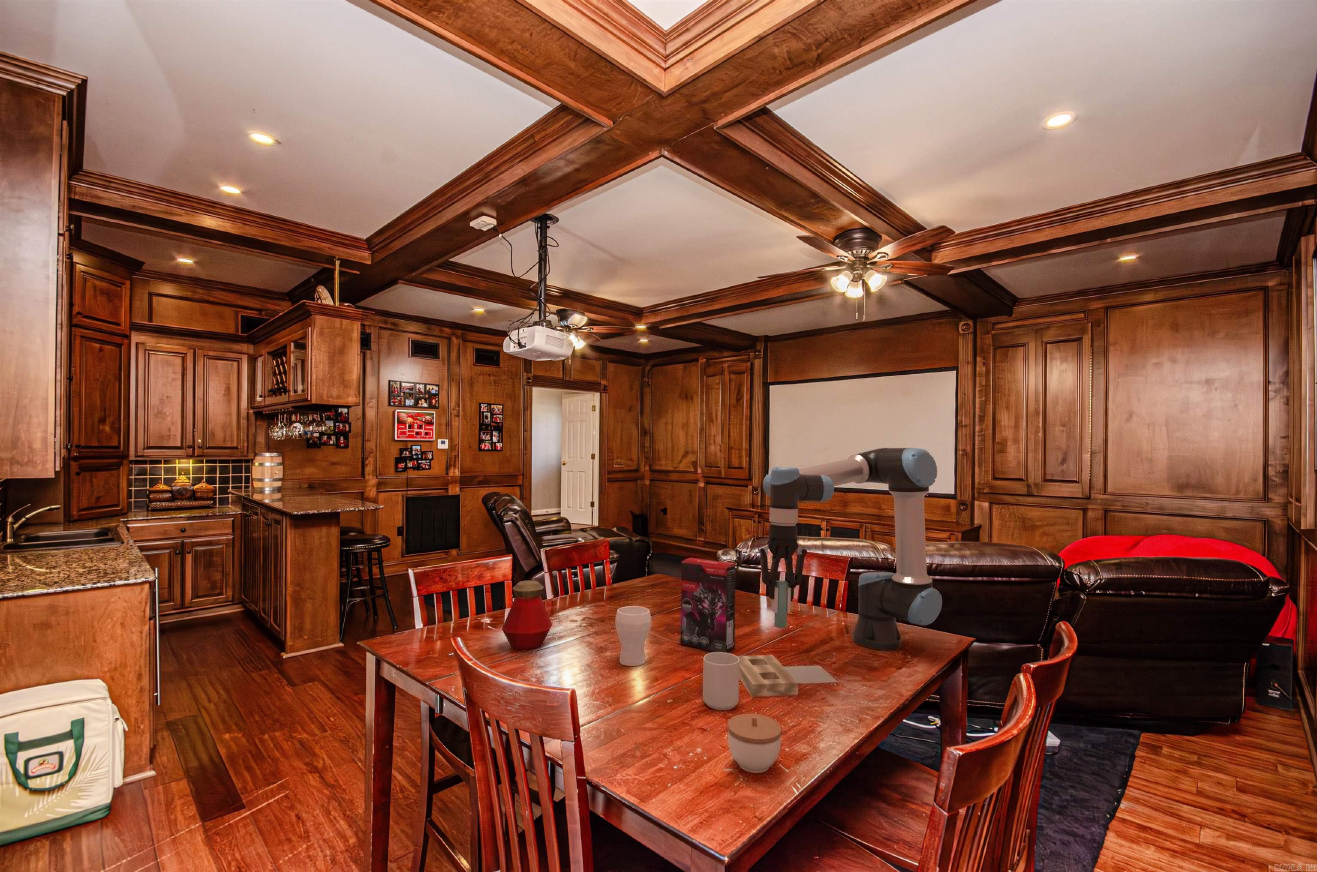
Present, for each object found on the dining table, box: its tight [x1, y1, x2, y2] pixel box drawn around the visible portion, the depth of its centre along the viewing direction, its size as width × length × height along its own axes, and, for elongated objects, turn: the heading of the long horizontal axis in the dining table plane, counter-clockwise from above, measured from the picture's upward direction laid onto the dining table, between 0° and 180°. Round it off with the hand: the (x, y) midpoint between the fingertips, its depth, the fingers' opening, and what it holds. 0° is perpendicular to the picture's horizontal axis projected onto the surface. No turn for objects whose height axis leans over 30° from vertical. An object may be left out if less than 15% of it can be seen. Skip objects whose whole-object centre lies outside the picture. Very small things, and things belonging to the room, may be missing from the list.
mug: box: [702, 652, 740, 711], centre depth 144 cm, size 12×9×11 cm
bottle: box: [501, 580, 553, 651], centre depth 182 cm, size 16×14×20 cm
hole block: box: [736, 654, 799, 699], centre depth 156 cm, size 12×20×4 cm, turn 8°
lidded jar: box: [726, 713, 783, 774], centre depth 115 cm, size 11×11×9 cm
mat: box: [783, 665, 838, 685], centre depth 161 cm, size 12×12×1 cm
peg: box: [773, 580, 788, 629], centre depth 155 cm, size 3×3×12 cm
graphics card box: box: [679, 557, 737, 653], centre depth 183 cm, size 17×7×27 cm, turn 57°
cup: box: [614, 605, 652, 667], centre depth 170 cm, size 11×11×15 cm
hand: (780, 611), depth 155 cm, fingers closed on peg, 3 cm apart
